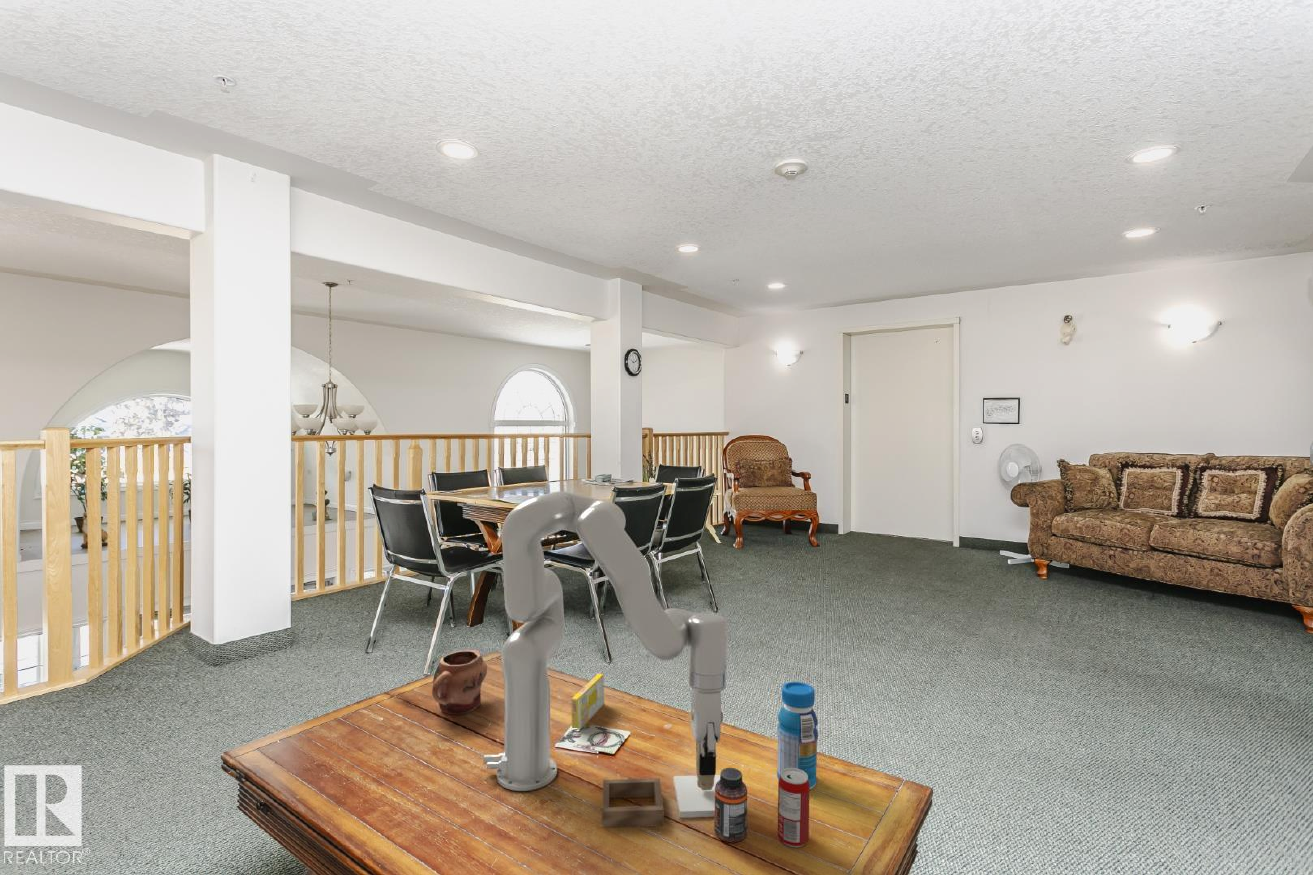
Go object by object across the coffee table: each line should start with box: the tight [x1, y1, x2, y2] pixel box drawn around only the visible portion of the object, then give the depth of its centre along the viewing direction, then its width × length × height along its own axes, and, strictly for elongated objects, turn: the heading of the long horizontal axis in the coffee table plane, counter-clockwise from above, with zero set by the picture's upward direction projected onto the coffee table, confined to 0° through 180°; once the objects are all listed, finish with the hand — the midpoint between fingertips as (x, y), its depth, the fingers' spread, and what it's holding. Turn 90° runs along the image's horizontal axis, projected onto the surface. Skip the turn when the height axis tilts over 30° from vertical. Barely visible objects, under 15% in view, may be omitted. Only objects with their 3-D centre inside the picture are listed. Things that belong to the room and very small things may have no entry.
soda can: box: [777, 768, 811, 848], centre depth 114 cm, size 6×6×12 cm
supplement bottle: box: [713, 767, 748, 843], centre depth 116 cm, size 6×6×11 cm
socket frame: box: [601, 777, 665, 828], centre depth 122 cm, size 11×10×3 cm
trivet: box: [673, 774, 720, 819], centre depth 126 cm, size 12×12×1 cm
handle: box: [690, 710, 724, 791], centre depth 126 cm, size 5×6×15 cm
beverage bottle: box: [776, 681, 819, 790], centre depth 133 cm, size 8×8×20 cm
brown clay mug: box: [431, 649, 488, 715], centre depth 163 cm, size 20×12×14 cm, turn 168°
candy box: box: [570, 673, 605, 729], centre depth 161 cm, size 16×2×8 cm, turn 162°
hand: (705, 766), depth 126 cm, fingers closed on handle, 4 cm apart
